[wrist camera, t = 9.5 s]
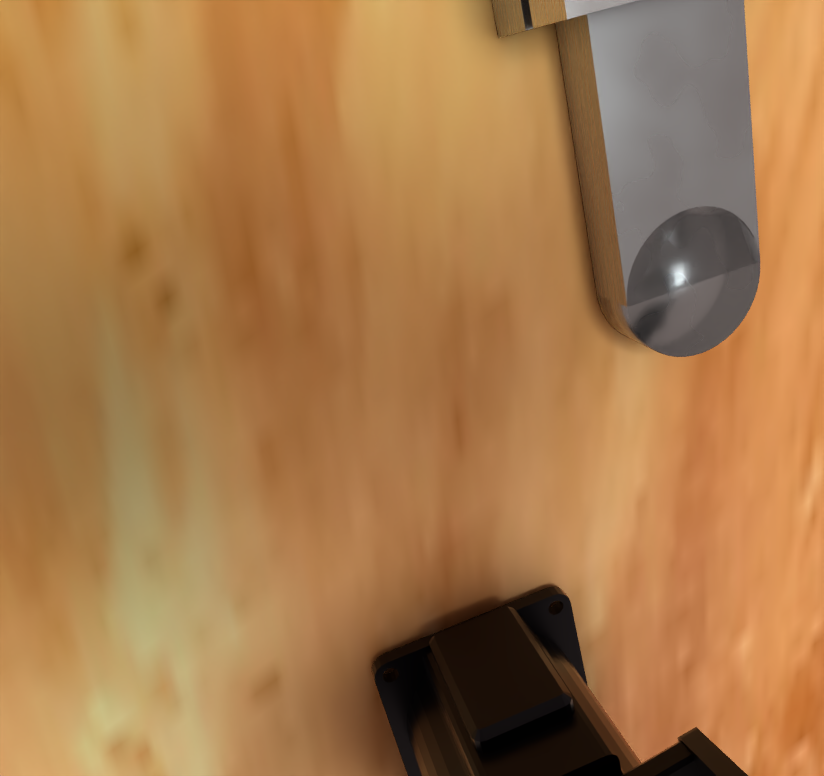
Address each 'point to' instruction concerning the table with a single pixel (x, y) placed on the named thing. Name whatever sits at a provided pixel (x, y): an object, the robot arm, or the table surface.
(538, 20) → the strap
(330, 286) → the table surface
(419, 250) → the table surface
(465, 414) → the table surface
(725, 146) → the lower strap
